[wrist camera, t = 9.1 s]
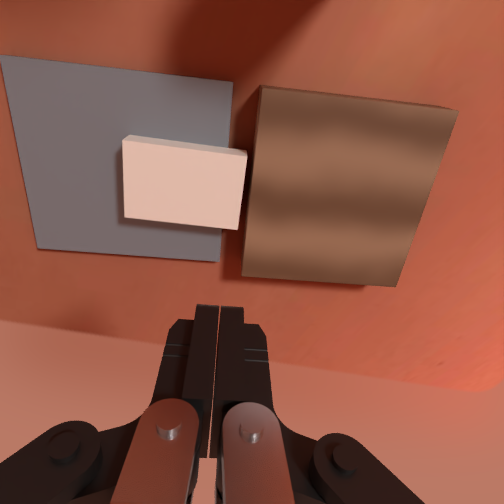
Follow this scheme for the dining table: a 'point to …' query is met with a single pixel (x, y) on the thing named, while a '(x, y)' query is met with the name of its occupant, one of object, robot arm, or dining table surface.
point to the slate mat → (106, 151)
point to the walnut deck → (339, 185)
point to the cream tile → (182, 182)
